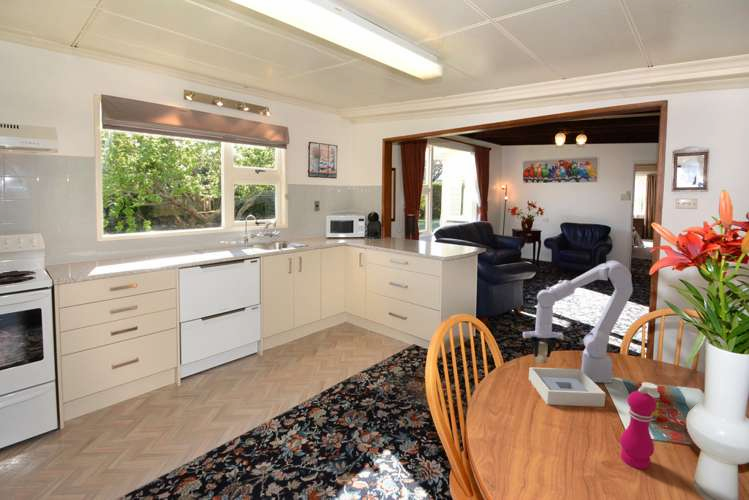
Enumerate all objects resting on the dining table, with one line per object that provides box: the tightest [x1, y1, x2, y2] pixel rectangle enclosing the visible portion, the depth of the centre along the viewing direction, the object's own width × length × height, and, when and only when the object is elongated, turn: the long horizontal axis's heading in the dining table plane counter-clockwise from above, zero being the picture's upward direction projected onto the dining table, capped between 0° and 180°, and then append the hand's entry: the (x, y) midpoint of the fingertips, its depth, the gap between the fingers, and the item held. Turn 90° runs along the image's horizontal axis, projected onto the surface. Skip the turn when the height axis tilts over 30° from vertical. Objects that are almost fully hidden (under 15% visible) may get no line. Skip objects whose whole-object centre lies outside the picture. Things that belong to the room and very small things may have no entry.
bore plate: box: [541, 377, 589, 392], centre depth 138 cm, size 12×12×2 cm
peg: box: [535, 341, 548, 364], centre depth 155 cm, size 4×4×7 cm
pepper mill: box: [619, 386, 656, 470], centre depth 102 cm, size 7×7×20 cm
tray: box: [528, 367, 607, 407], centre depth 139 cm, size 18×18×4 cm
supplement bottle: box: [637, 381, 661, 422], centre depth 124 cm, size 6×6×10 cm
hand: (541, 356), depth 155 cm, fingers closed on peg, 4 cm apart
